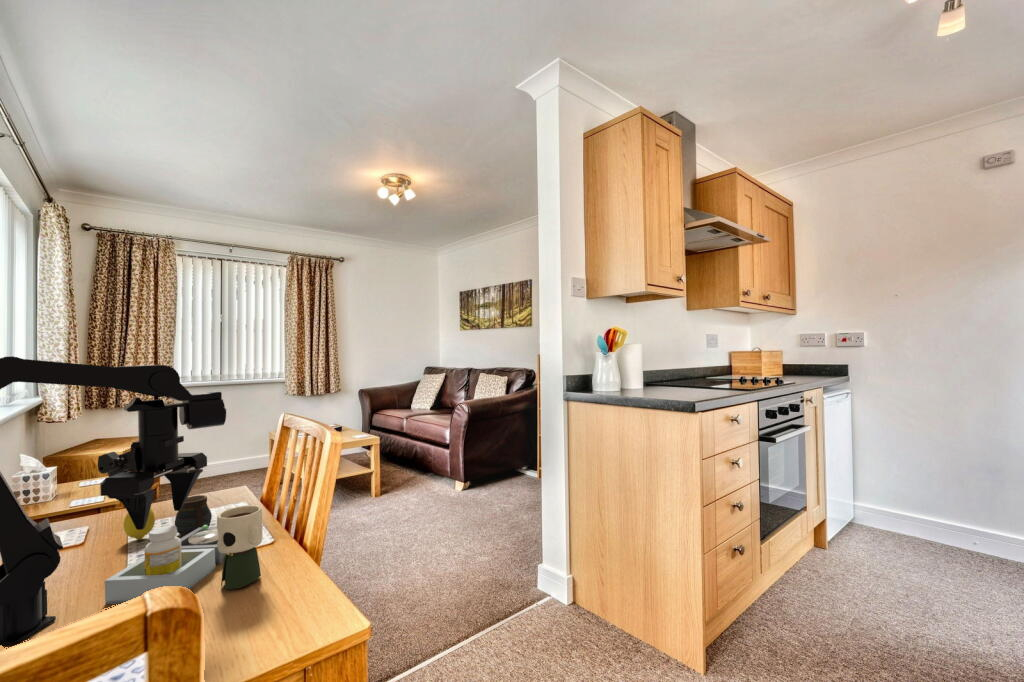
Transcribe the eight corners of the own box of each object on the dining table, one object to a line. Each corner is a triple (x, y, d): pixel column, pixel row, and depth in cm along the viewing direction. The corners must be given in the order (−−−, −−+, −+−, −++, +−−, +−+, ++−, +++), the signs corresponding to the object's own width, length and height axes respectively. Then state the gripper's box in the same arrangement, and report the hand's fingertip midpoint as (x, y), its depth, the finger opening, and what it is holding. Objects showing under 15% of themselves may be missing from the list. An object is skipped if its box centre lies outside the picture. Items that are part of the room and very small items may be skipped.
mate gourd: (218, 530, 110) (217, 487, 110) (181, 542, 103) (181, 497, 103) (203, 524, 113) (202, 483, 114) (167, 535, 107) (166, 492, 107)
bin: (174, 601, 78) (173, 577, 78) (105, 604, 78) (104, 580, 78) (215, 568, 90) (214, 548, 90) (155, 571, 89) (154, 550, 89)
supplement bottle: (175, 587, 82) (174, 533, 82) (139, 592, 80) (138, 537, 80) (186, 573, 87) (185, 522, 87) (152, 578, 85) (151, 526, 86)
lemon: (128, 537, 106) (128, 503, 106) (158, 533, 109) (157, 499, 109) (120, 547, 101) (119, 510, 101) (151, 541, 104) (150, 506, 104)
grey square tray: (219, 564, 91) (219, 543, 91) (163, 567, 91) (162, 545, 91) (249, 541, 102) (249, 522, 102) (199, 543, 102) (198, 524, 102)
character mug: (205, 584, 84) (203, 512, 84) (245, 568, 90) (243, 500, 90) (236, 600, 78) (235, 523, 78) (277, 581, 84) (275, 510, 84)
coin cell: (215, 552, 93) (215, 541, 93) (180, 553, 93) (180, 542, 93) (235, 537, 100) (235, 527, 100) (202, 539, 100) (202, 529, 100)
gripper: (152, 426, 93) (153, 503, 93) (65, 445, 75) (66, 543, 74) (208, 424, 93) (209, 501, 93) (135, 443, 75) (137, 540, 75)
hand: (160, 519), depth 84 cm, fingers open, 9 cm apart
